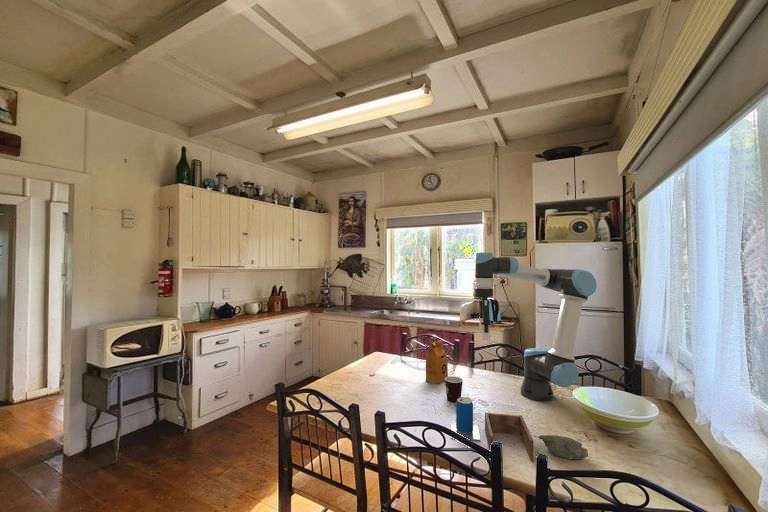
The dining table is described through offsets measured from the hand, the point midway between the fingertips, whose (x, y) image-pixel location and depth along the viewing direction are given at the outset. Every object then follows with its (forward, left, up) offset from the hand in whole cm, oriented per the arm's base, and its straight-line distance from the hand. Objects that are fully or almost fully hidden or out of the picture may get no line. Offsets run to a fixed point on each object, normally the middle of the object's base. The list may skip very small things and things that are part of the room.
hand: (484, 336), depth 144 cm
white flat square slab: (+9, +16, -35) cm, 39 cm away
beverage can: (+9, +16, -34) cm, 39 cm away
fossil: (-24, +23, -35) cm, 48 cm away
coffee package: (+22, -38, -35) cm, 56 cm away
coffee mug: (+13, -15, -35) cm, 40 cm away
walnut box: (-6, +22, -35) cm, 41 cm away
